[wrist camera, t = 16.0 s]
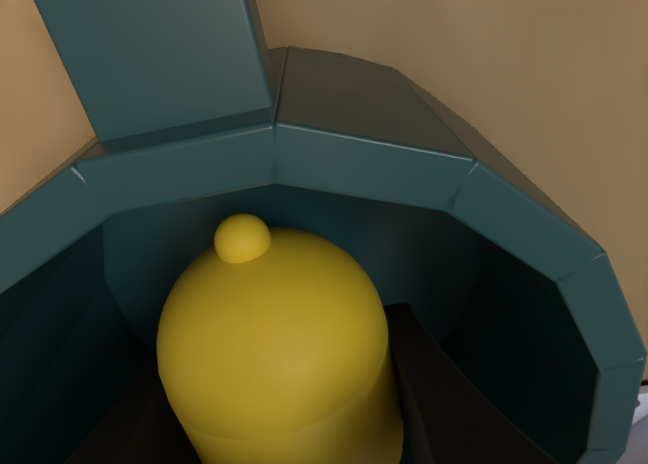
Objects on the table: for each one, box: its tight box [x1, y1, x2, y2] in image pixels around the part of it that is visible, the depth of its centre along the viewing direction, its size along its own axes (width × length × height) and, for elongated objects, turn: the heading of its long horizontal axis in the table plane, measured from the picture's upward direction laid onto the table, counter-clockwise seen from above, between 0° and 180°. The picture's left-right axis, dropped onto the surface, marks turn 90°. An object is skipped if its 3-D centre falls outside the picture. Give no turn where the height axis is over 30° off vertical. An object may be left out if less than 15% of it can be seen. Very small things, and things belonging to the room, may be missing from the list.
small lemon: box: [157, 213, 403, 464], centre depth 10 cm, size 5×9×5 cm, turn 11°
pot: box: [0, 0, 648, 464], centre depth 11 cm, size 13×18×6 cm
